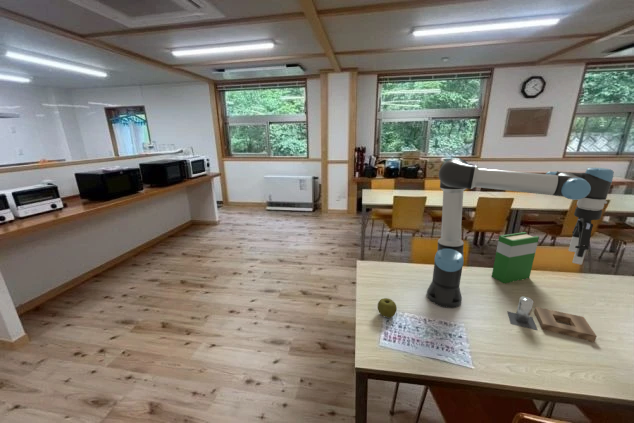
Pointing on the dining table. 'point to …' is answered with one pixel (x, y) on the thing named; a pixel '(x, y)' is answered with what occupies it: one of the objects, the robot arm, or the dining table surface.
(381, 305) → the apple
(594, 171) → the robot arm
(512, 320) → the pad
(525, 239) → the hardback book
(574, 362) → the dining table surface
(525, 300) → the brushed steel cylinder
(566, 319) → the jig
